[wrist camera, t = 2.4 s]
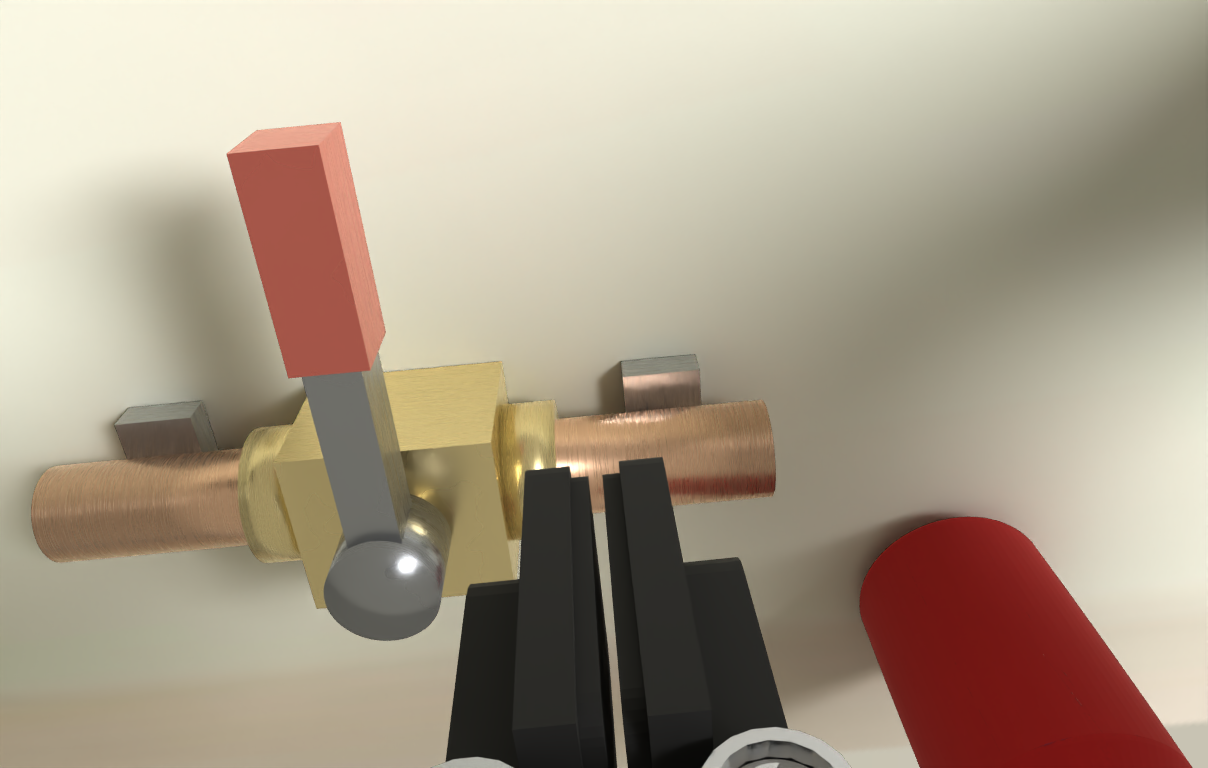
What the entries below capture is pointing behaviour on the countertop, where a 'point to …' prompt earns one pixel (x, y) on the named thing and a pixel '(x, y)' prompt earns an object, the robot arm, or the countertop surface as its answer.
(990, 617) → the beverage can
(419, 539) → the lever
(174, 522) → the pipework
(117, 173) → the countertop surface
